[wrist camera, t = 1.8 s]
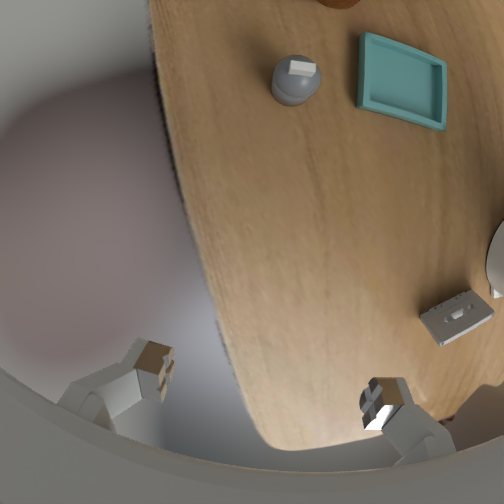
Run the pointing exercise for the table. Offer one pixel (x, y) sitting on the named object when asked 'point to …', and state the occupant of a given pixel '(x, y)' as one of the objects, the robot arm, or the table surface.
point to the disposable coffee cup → (339, 3)
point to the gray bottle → (295, 80)
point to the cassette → (456, 316)
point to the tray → (401, 82)
